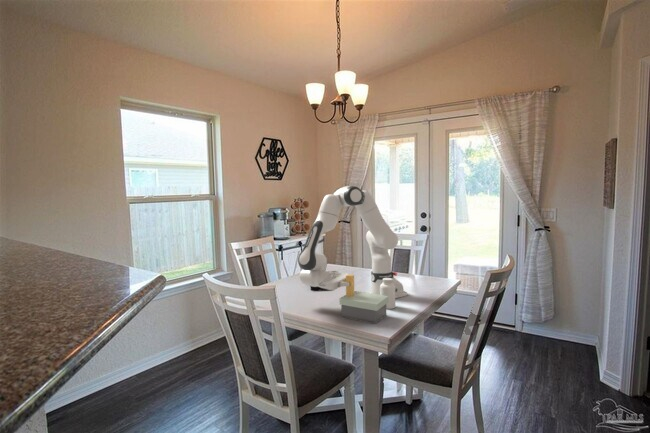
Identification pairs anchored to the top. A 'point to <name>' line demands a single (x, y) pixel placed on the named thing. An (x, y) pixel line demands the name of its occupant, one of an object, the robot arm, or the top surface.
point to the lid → (362, 297)
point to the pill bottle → (388, 292)
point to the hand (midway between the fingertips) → (351, 283)
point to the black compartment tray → (317, 288)
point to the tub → (363, 314)
